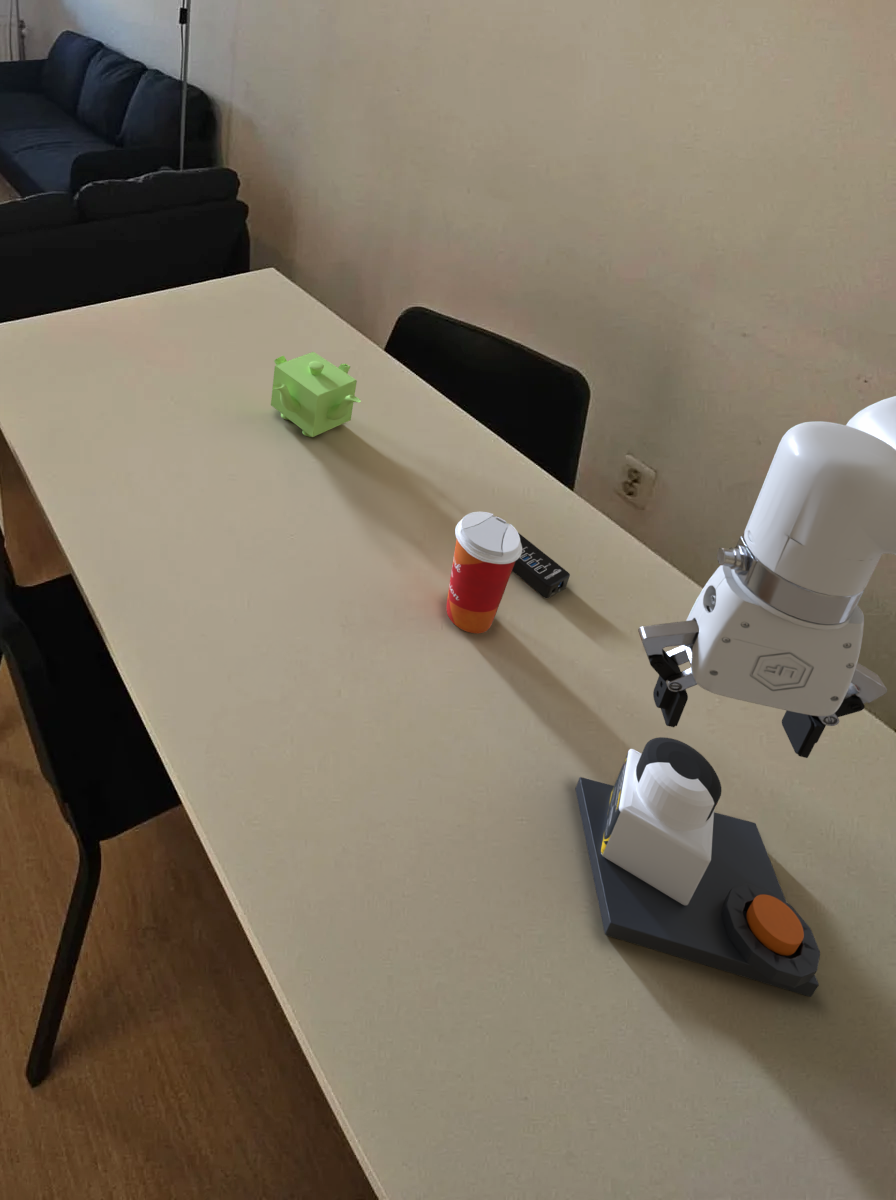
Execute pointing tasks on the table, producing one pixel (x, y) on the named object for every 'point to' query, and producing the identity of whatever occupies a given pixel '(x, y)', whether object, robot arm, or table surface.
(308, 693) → the table surface
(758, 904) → the button
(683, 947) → the scale
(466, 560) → the paper cup
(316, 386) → the kettle
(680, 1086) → the table surface
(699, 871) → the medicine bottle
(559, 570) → the multiport hub
